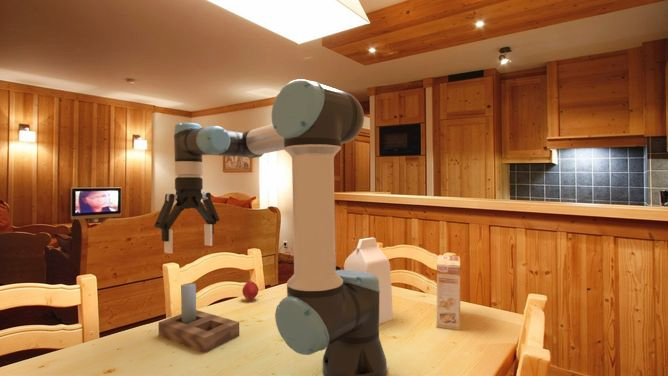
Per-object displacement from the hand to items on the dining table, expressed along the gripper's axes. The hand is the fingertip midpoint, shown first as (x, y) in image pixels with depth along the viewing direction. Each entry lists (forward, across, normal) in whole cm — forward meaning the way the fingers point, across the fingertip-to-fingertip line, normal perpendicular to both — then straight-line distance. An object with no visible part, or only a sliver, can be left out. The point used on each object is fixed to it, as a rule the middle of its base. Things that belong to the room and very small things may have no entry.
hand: (189, 249), depth 105 cm
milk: (+25, -36, +40) cm, 60 cm away
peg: (+25, 0, 0) cm, 25 cm away
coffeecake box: (+25, -48, +63) cm, 84 cm away
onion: (+25, -30, -5) cm, 39 cm away
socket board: (+25, 0, +4) cm, 25 cm away
